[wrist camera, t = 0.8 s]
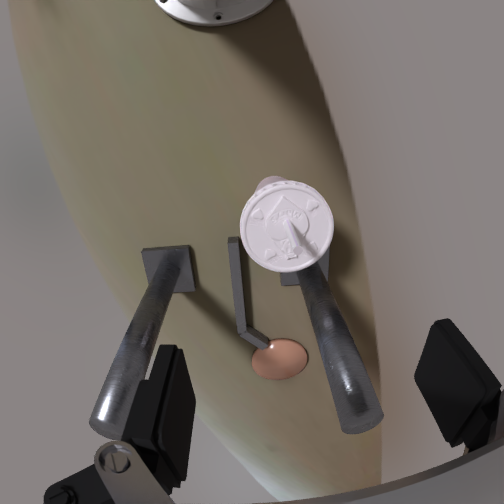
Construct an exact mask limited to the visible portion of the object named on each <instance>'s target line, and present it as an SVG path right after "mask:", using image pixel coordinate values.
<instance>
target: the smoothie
mask: <svg viewBox="0 0 504 504" xmlns="http://www.w3.org/2000/svg"><path fill="white" fill-rule="evenodd" d="M333 232H334V221H333V216H332V212H331V210H330V208H329V206H328V204H327V203H326V201H325V199H324V198H323V197H322V196H321V195H320V194H319V193H318V192H317V191H316V190H315V189H314V188H312V187H310V186H308V185H306V184H305V183H300V182H296V181H289V180H287V179H285V178H283V177H280V176H270V177H267V178H265V179H263V180H262V181H261V182H260V183H259V184H258V186H257V188H256V191H255V193H254V195H253V196H252V197H251V198H250V199H249V200H248V202H247V203H246V205H245V207H244V209H243V211H242V215H241V220H240V234H241V238H242V242H243V245H244V247H245V249H246V251H247V253H248V254H249V256H250V257H251V258H252V259H253V260H254V261H255V262H256V263H258V264H259V265H261V266H262V267H264V268H267V269H269V270H272V271H276V272H294V271H299V270H302V269H304V268H307V267H309V266H310V265H312V264H314V263H315V262H316V261H318V260H319V259H320V258H321V257H322V256H323V254H324V253H325V252H326V250H327V249H328V247H329V245H330V243H331V240H332V237H333Z"/></svg>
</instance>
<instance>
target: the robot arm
mask: <svg viewBox="0 0 504 504" xmlns="http://www.w3.org/2000/svg"><path fill="white" fill-rule="evenodd" d="M154 1H155V2H156V4H157V5H158V6H159V7H160V8H161V9H162V10H163V11H164V12H165V13H166V14H168V15H169V16H171V17H172V18H174V19H176V20H179V21H181V22H183V23H187V24H192V25H196V26H209V27H210V26H223V25H228V24H233V23H237V22H240V21H243V20H246V19H248V18H250V17H252V16H254V15H256V14H258V13H260V12H261V11H262V10H264V9H265V8H266V7H267V6H269V5H270V4H271V2H272V1H273V0H154ZM165 1H167V2H166V3H164V2H165ZM217 17H221V19H220V20H216V18H217ZM414 377H415V378H414V379H415V382H416V384H417V386H418V387H419V389H420V391H421V393H422V395H423V397H424V399H425V401H426V403H427V404H428V407H429V408H430V411H431V412H432V414H433V416H434V418H435V420H436V422H437V424H438V426H439V429H440V431H441V433H442V434H443V437H444V439H445V441H446V442H449V443H450V445H451V447H452V448H453V447H455V446H458V445H460V444H462V443H463V442H464V443H465V450H464V453H463V456H461V457H459V458H457V459H454V460H452V461H450V462H447V463H444V464H442V465H440V466H437V467H434V468H431V469H429V470H426V471H423V472H420V473H417V474H414V475H411V476H408V477H405V478H402V479H398V480H395V481H391V482H388V483H384V484H381V485H377V486H373V487H369V488H365V489H360V490H356V491H351V492H346V493H341V494H335V495H330V496H324V497H317V498H310V499H303V500H294V501H284V502H272V503H255V504H504V390H503V391H502V392H501V390H500V388H501V386H502V385H501V384H500V382H499V381H498V379H497V378H496V377H495V375H494V374H493V373H492V371H491V370H490V369H489V367H488V366H487V365H486V363H485V362H484V361H483V359H482V358H481V357H480V355H479V354H478V353H477V352H476V350H475V349H474V348H473V347H472V345H471V344H470V343H469V342H468V341H467V339H466V338H465V337H464V335H463V334H462V333H461V332H460V331H459V329H458V328H457V327H456V326H455V324H454V323H453V322H452V321H451V320H450V319H448V318H447V319H442V320H437V321H435V322H434V324H433V325H432V326H431V328H430V331H429V334H428V337H427V340H426V343H425V346H424V349H423V352H422V355H421V358H420V360H419V363H418V366H417V369H416V371H415V375H414ZM195 406H196V399H195V394H194V391H193V387H192V384H191V380H190V376H189V373H188V369H187V365H186V361H185V357H184V353H183V350H182V349H178V348H177V345H160V346H159V348H158V352H157V355H156V358H155V361H154V364H153V367H152V370H151V373H150V377H149V380H141V381H140V382H139V384H138V387H137V390H136V393H135V396H134V399H133V402H132V405H131V408H130V412H129V415H128V418H127V421H126V424H125V428H124V431H123V434H122V437H121V441H111V442H108V443H105V444H104V445H102V446H101V447H100V448H99V449H98V450H97V451H96V454H95V456H94V464H93V465H91V466H89V467H87V468H85V469H83V470H81V471H79V472H77V473H75V474H73V475H71V476H69V477H67V478H65V479H63V480H61V481H59V482H57V483H55V484H53V485H51V486H50V487H49V488H48V489H47V490H46V492H45V495H44V503H43V504H175V503H174V501H173V500H172V499H171V498H170V496H169V495H170V494H172V488H173V487H177V488H180V484H181V481H185V480H186V477H187V468H188V459H189V452H190V444H191V436H192V429H193V421H194V414H195Z"/></svg>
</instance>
